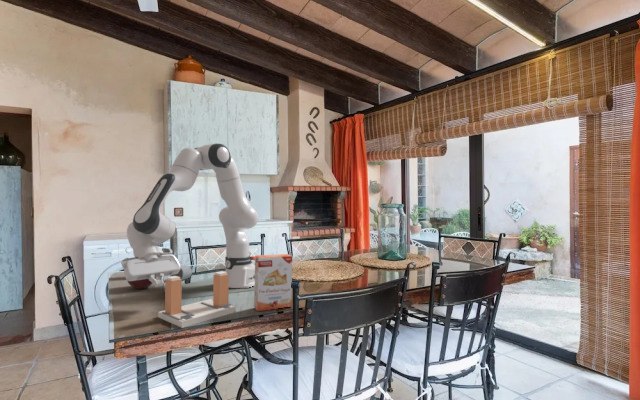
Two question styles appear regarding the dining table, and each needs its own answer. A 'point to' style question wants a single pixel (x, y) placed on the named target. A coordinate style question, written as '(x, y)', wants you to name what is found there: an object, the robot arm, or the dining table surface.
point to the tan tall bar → (220, 288)
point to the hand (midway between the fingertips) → (159, 285)
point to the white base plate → (196, 313)
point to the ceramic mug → (184, 272)
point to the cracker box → (272, 281)
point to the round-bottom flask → (140, 283)
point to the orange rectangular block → (173, 295)
